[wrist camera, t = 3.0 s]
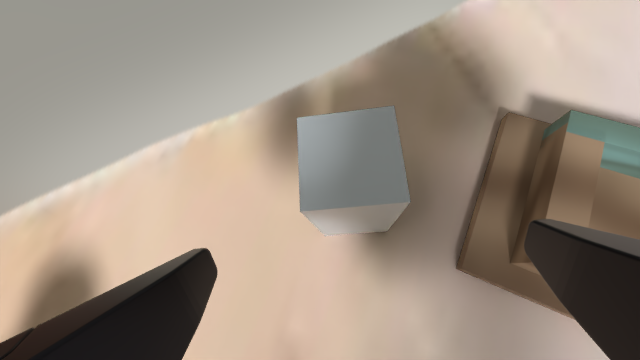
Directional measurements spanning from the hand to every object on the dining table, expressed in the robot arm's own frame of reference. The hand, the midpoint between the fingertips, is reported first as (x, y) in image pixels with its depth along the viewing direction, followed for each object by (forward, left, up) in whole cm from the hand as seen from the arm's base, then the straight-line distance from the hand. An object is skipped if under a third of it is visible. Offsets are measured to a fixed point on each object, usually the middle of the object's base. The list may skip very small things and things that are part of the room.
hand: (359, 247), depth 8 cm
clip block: (+4, -2, -12) cm, 13 cm away
